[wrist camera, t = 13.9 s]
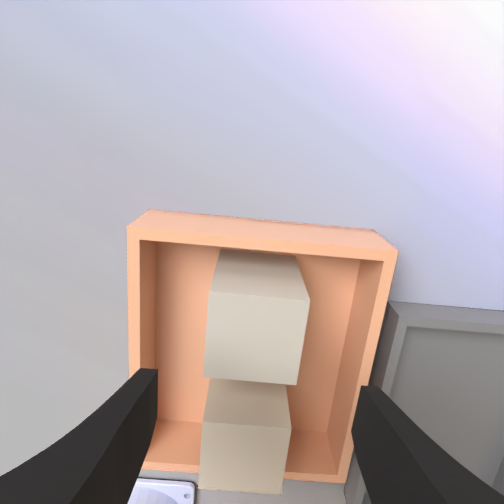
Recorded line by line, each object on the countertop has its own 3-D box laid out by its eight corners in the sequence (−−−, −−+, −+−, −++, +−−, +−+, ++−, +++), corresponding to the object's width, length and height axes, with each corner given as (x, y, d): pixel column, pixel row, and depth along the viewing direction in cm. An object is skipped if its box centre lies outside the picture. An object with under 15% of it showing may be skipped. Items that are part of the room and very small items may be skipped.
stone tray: (485, 501, 28) (502, 527, 27) (343, 490, 28) (350, 517, 26) (559, 315, 23) (586, 331, 22) (387, 300, 23) (399, 316, 21)
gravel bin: (331, 432, 26) (345, 483, 23) (148, 418, 26) (130, 468, 22) (373, 229, 22) (398, 250, 18) (149, 209, 21) (126, 226, 17)
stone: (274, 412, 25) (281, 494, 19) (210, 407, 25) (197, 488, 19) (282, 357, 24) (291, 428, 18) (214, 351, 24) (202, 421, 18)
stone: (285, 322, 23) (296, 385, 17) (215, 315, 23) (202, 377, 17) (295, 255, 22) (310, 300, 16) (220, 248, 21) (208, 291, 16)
